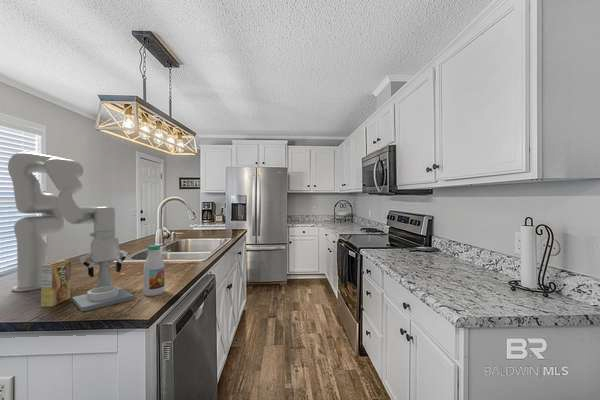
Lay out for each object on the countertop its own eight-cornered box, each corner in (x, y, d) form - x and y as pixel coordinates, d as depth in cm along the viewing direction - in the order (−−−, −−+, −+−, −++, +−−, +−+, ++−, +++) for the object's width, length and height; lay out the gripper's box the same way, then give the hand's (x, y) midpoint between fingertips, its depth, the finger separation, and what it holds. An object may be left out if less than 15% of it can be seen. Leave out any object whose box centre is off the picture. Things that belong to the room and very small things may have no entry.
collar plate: (72, 300, 104) (72, 290, 104) (120, 290, 116) (120, 281, 116) (81, 311, 93) (81, 300, 93) (133, 299, 105) (133, 289, 105)
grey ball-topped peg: (103, 292, 114) (103, 261, 114) (92, 291, 115) (92, 260, 115) (115, 287, 120) (115, 258, 120) (104, 286, 121) (105, 257, 121)
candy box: (59, 298, 106) (59, 259, 106) (71, 298, 107) (71, 259, 107) (40, 307, 97) (40, 264, 98) (53, 306, 98) (53, 264, 98)
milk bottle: (140, 297, 107) (141, 247, 108) (146, 291, 115) (146, 244, 115) (162, 295, 109) (162, 246, 110) (166, 289, 117) (166, 243, 117)
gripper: (81, 237, 108) (82, 280, 108) (130, 233, 122) (130, 271, 121) (77, 236, 113) (78, 277, 113) (124, 232, 126) (125, 268, 126)
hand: (105, 274), depth 117 cm, fingers open, 9 cm apart
